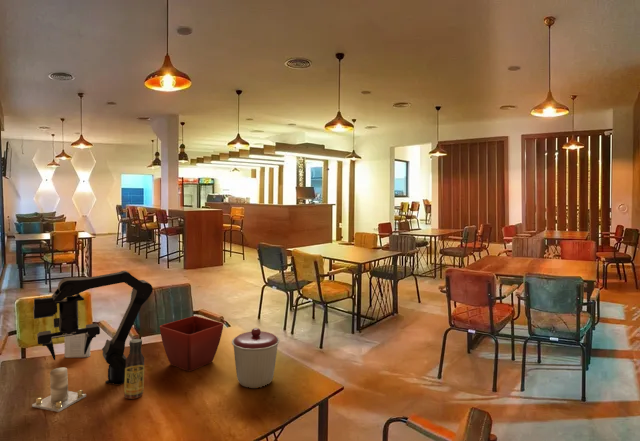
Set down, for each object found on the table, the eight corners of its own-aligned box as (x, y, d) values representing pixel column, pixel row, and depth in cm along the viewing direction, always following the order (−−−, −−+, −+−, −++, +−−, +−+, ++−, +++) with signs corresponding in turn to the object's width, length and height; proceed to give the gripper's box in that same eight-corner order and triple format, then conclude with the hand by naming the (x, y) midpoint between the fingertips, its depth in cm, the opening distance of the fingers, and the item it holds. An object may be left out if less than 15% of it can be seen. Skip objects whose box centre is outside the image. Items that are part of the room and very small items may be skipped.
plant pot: (224, 361, 176) (224, 322, 175) (188, 377, 160) (188, 335, 159) (194, 351, 186) (194, 315, 185) (158, 365, 170) (158, 325, 169)
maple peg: (69, 394, 142) (68, 366, 142) (67, 400, 138) (65, 372, 137) (52, 397, 140) (51, 368, 140) (49, 404, 136) (48, 374, 135)
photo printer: (92, 354, 181) (92, 326, 180) (88, 357, 176) (88, 329, 176) (67, 354, 179) (67, 327, 179) (62, 358, 175) (62, 330, 174)
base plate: (86, 396, 143) (86, 389, 143) (58, 412, 132) (58, 404, 132) (61, 391, 146) (61, 385, 146) (32, 406, 135) (32, 399, 135)
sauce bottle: (124, 401, 140) (124, 345, 139) (123, 393, 145) (123, 339, 144) (145, 397, 143) (145, 342, 142) (143, 390, 148) (143, 336, 147)
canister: (242, 370, 167) (242, 319, 166) (284, 374, 163) (285, 323, 162) (223, 390, 149) (223, 333, 148) (270, 396, 146) (270, 338, 145)
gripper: (95, 304, 156) (96, 344, 157) (36, 312, 145) (37, 355, 146) (99, 311, 147) (100, 353, 148) (37, 320, 136) (38, 366, 137)
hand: (69, 356), depth 145 cm, fingers open, 9 cm apart
